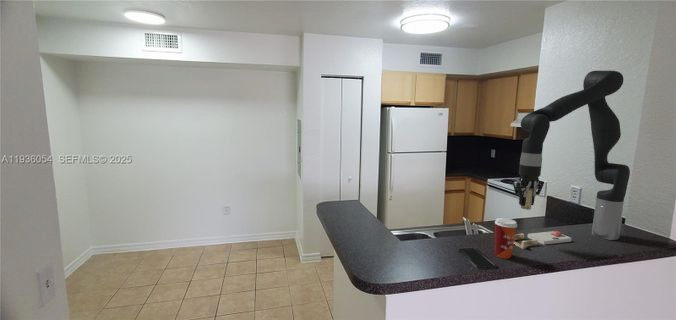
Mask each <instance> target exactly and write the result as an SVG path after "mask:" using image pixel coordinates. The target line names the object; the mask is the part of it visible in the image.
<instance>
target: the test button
mask: <svg viewBox="0 0 676 320" xmlns="http://www.w3.org/2000/svg"><path fill="white" fill-rule="evenodd" d="M562 234H563V232H562V231H559V230H553V235H554V236H556V237H561V236H562Z"/></svg>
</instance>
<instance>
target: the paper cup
mask: <svg viewBox="0 0 676 320" xmlns="http://www.w3.org/2000/svg"><path fill="white" fill-rule="evenodd" d="M494 224H495V228H494V229H495V230H494V231H495V232H494V235H495V236H494V255H495V256H496V257H497V258H500V259H505V260H506V259H507V260H509V259H511V258H512V255H513V249H514V239H515V234H517V233H516V232H517V227H518V224H517V221H516V220H514V219H511V218H507V217H497V218H496V219H495V221H494Z"/></svg>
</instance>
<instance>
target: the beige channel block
mask: <svg viewBox="0 0 676 320" xmlns="http://www.w3.org/2000/svg"><path fill="white" fill-rule="evenodd" d="M518 240H521V243H520V242H519V241H518ZM514 244H515V246H517V247H518V248H521V249H522V250H525V249H526V248H527V249H530V247H533V246H538V244H539V242H538V240H536V239H535V240H532V239H527V240H525V234H524V233H515V239H514Z"/></svg>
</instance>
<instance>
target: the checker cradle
mask: <svg viewBox="0 0 676 320" xmlns="http://www.w3.org/2000/svg"><path fill="white" fill-rule="evenodd" d="M553 231H554V230H553ZM553 231H552V230H551V231H543V232H532V233H527V238H528V239H529V240H535V239H536V240H538V244H542V245H552V244H553V245H554V244H561V243H568V242H572V237H570V236H567V235H565V234H563V233H562V236H561V237H556V236H554V235H553Z"/></svg>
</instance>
